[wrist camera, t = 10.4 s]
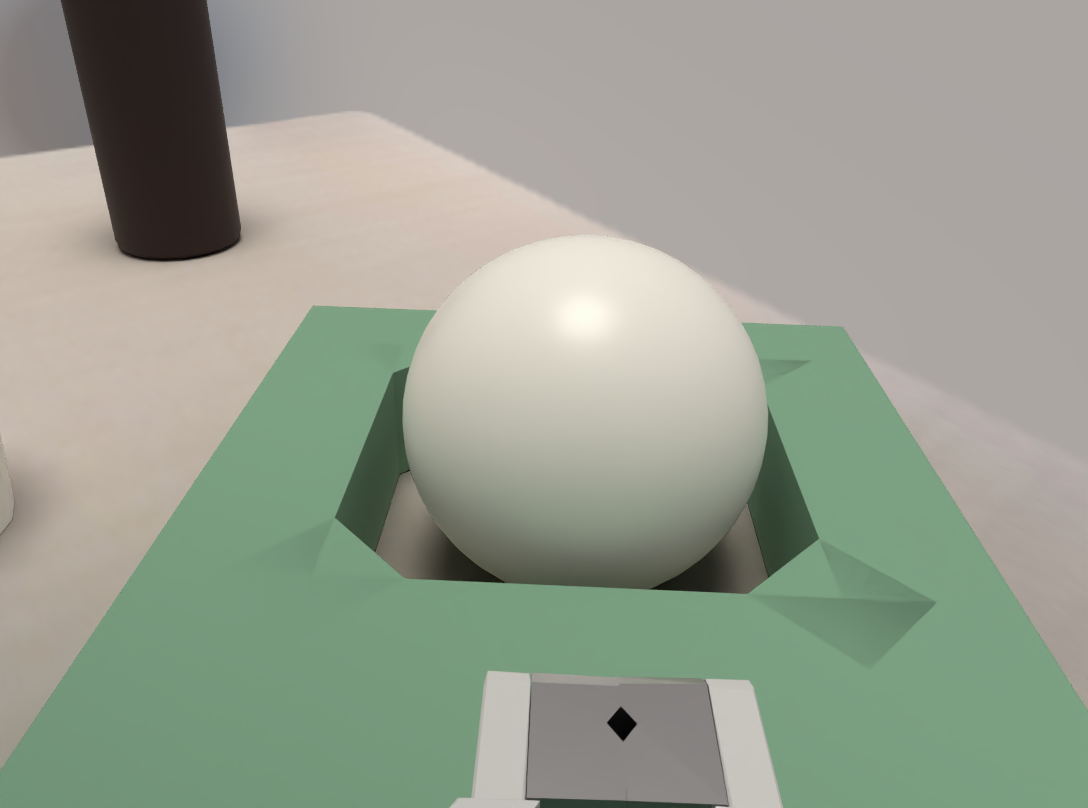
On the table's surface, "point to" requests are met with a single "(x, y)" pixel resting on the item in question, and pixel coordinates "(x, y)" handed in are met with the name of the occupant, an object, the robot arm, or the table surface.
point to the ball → (585, 415)
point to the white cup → (5, 492)
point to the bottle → (156, 123)
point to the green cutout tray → (547, 617)
